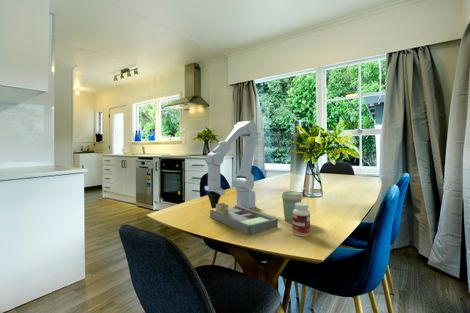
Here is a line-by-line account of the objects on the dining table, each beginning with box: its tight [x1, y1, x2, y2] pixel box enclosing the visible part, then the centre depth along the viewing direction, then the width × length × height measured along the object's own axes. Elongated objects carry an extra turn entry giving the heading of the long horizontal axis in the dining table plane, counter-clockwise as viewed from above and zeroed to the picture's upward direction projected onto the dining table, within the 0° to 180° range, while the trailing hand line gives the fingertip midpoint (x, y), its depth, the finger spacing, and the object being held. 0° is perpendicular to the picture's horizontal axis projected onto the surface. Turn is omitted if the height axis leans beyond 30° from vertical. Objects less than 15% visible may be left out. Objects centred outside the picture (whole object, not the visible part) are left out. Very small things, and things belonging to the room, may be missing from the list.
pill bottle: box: [291, 201, 311, 237], centre depth 89 cm, size 6×6×11 cm
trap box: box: [209, 204, 279, 236], centre depth 103 cm, size 15×27×3 cm, turn 37°
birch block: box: [215, 202, 229, 215], centre depth 108 cm, size 4×4×4 cm
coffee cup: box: [281, 190, 303, 224], centre depth 104 cm, size 8×8×12 cm
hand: (214, 207), depth 114 cm, fingers closed
